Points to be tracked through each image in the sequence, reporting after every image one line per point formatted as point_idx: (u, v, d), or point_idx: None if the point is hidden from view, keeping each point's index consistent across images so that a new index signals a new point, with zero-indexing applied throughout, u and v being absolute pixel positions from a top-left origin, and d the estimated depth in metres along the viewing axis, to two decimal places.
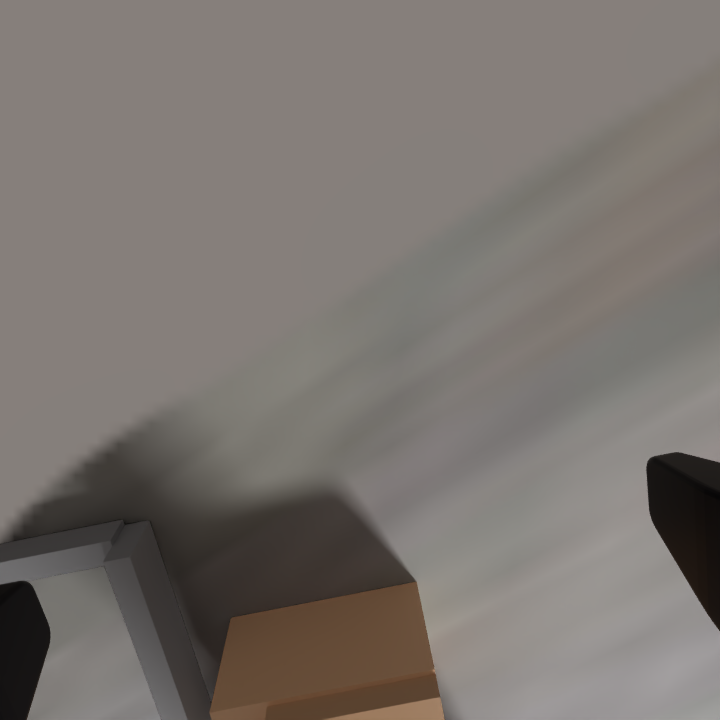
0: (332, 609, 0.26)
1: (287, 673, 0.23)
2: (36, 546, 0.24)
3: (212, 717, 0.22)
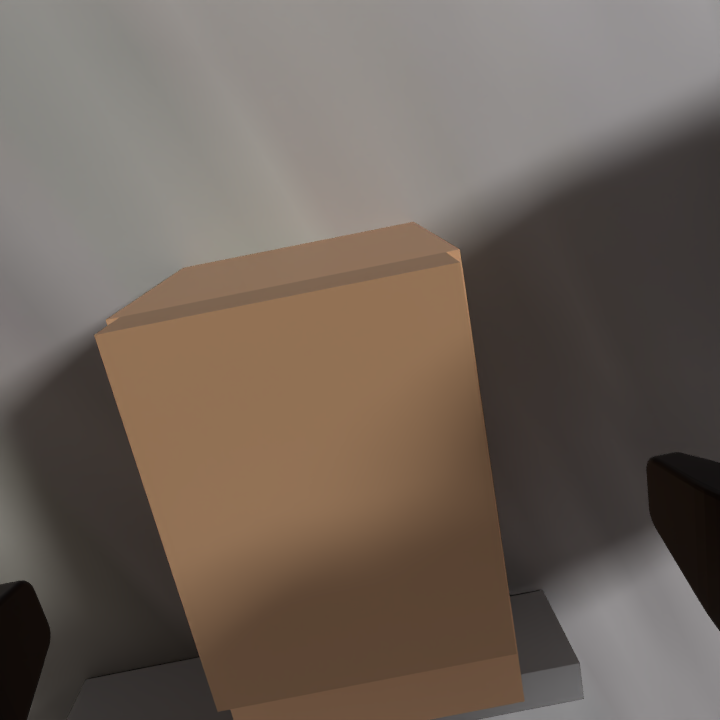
0: None
1: None
2: None
3: None
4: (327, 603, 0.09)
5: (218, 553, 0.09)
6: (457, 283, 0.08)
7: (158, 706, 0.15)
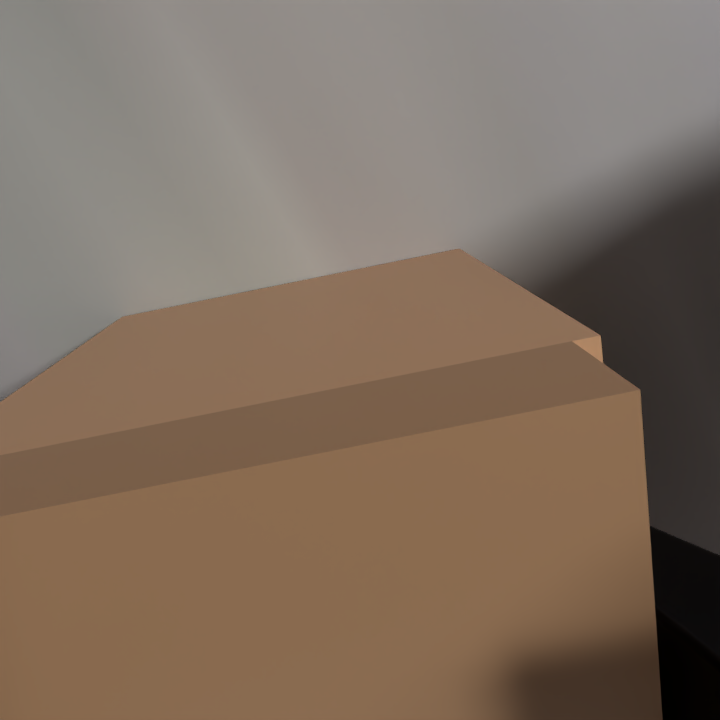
0: None
1: None
2: None
3: None
4: None
5: None
6: (631, 436, 0.03)
7: None
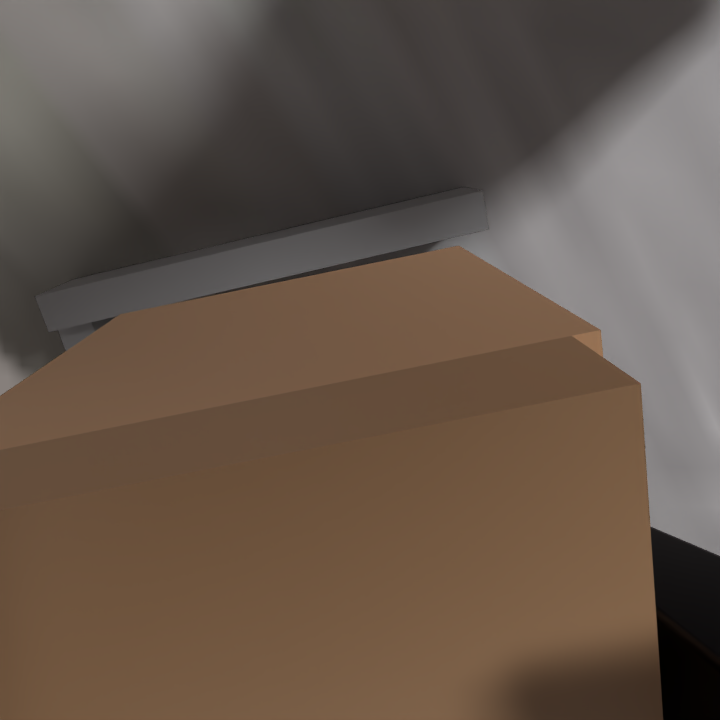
0: None
1: None
2: None
3: None
4: None
5: None
6: (631, 430, 0.03)
7: (131, 269, 0.18)
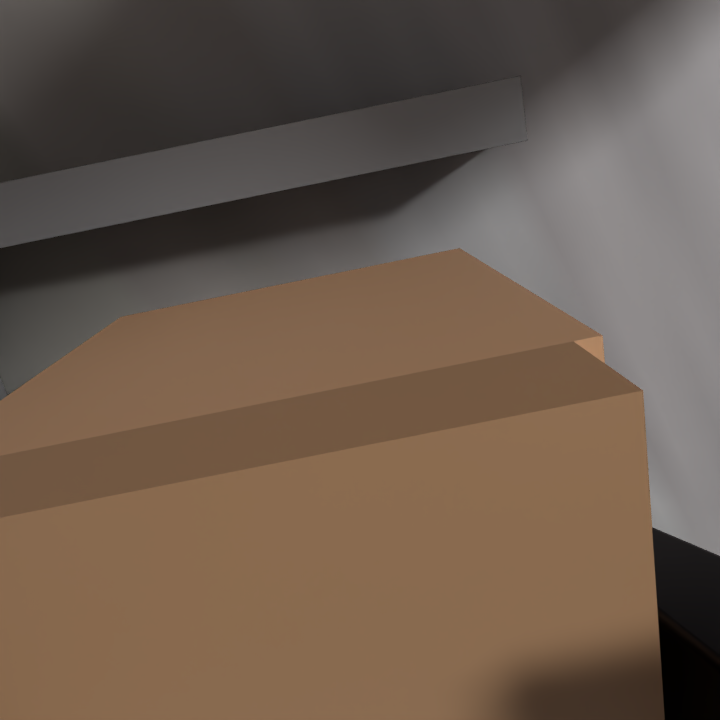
0: None
1: None
2: None
3: None
4: None
5: None
6: (634, 437, 0.03)
7: None
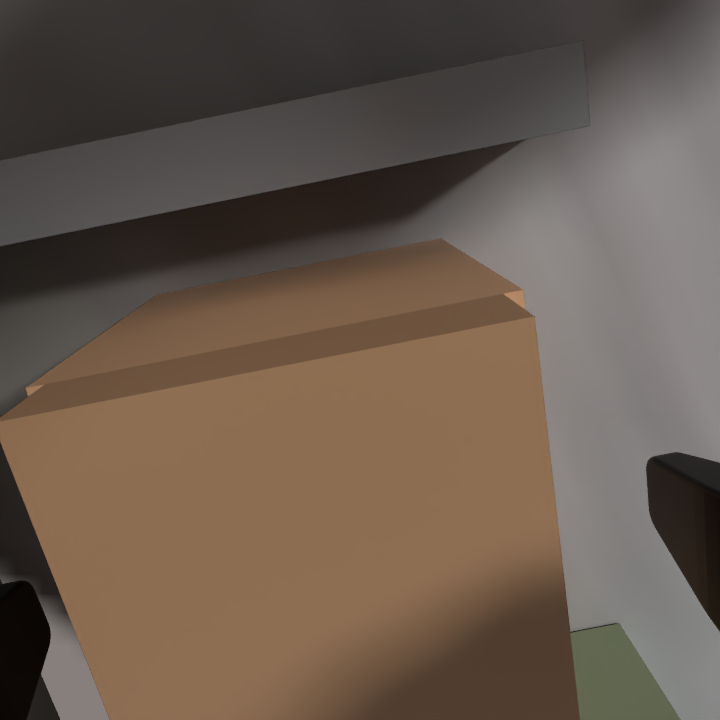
0: None
1: None
2: None
3: None
4: None
5: (181, 717, 0.06)
6: (530, 347, 0.05)
7: None
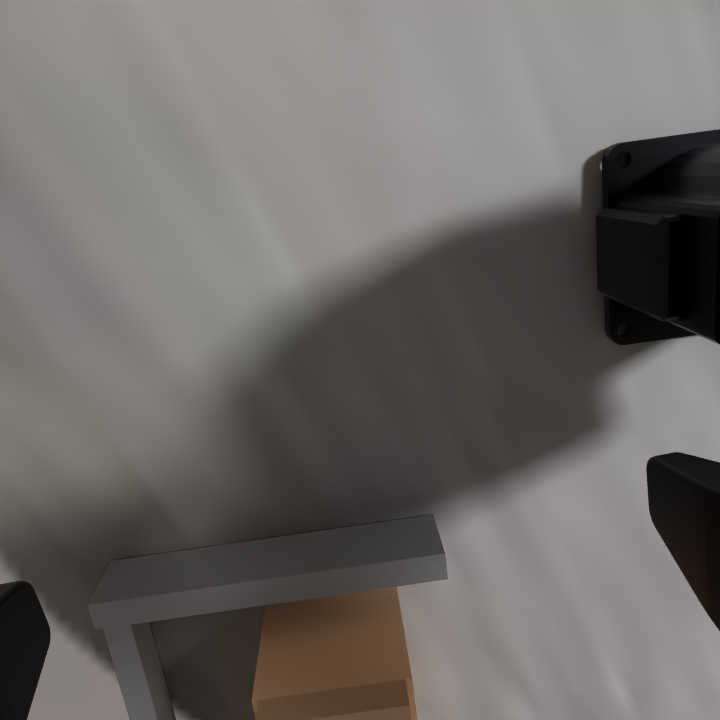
0: None
1: None
2: None
3: None
4: None
5: None
6: (408, 712, 0.19)
7: (163, 574, 0.22)
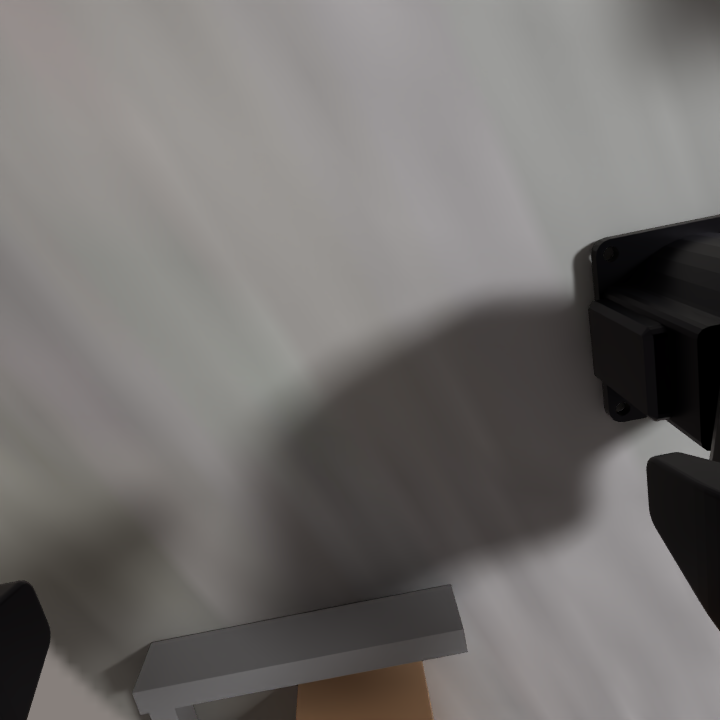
0: None
1: None
2: None
3: None
4: None
5: None
6: None
7: (201, 657, 0.23)
